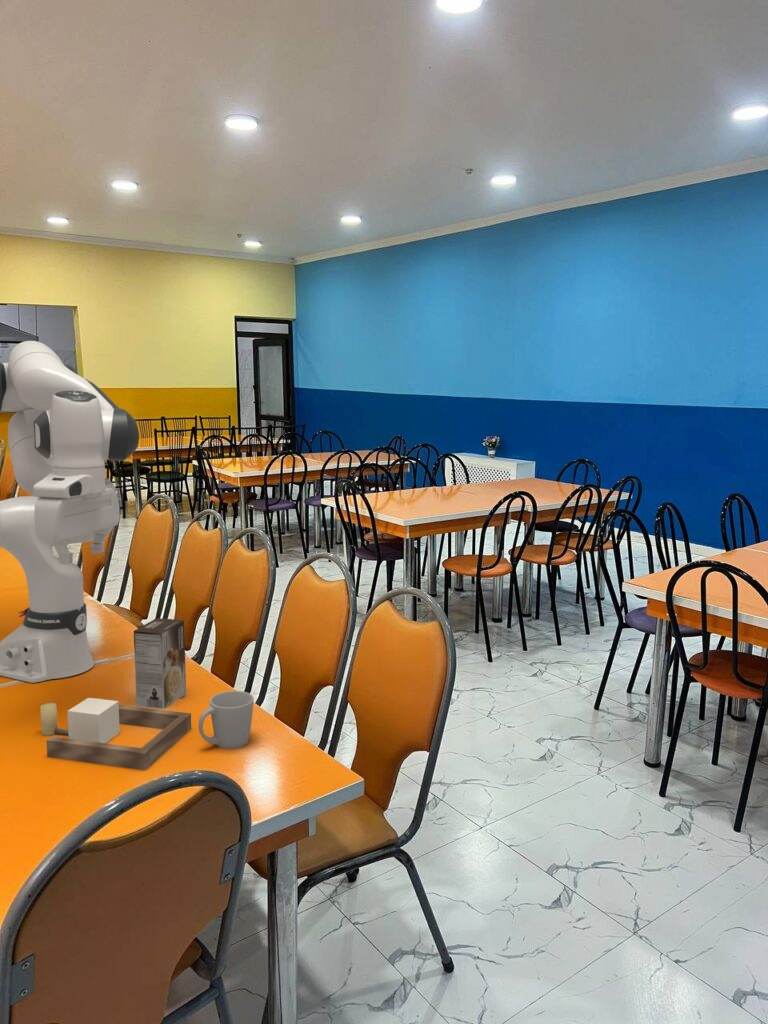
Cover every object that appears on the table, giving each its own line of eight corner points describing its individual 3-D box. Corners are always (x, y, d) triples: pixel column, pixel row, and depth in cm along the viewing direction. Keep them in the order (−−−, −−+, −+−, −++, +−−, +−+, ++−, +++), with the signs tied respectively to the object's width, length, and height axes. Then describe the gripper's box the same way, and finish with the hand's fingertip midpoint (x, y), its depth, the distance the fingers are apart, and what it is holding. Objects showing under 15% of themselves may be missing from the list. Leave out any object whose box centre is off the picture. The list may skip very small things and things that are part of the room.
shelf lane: (47, 760, 124) (46, 740, 123) (103, 721, 139) (102, 702, 139) (145, 774, 120) (144, 753, 119) (191, 732, 135) (191, 713, 135)
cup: (262, 746, 130) (262, 700, 129) (210, 763, 124) (209, 715, 123) (240, 731, 136) (240, 687, 135) (189, 747, 130) (189, 700, 128)
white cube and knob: (31, 738, 130) (30, 706, 129) (54, 724, 136) (52, 693, 135) (99, 747, 127) (98, 714, 126) (119, 732, 133) (118, 701, 132)
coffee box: (158, 691, 154) (156, 616, 151) (187, 694, 152) (185, 619, 150) (135, 709, 145) (132, 630, 142) (165, 712, 143) (163, 632, 141)
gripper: (97, 476, 144) (100, 546, 146) (25, 487, 124) (29, 568, 126) (126, 477, 143) (129, 548, 145) (59, 489, 123) (62, 570, 125)
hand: (82, 557), depth 135 cm, fingers open, 8 cm apart
